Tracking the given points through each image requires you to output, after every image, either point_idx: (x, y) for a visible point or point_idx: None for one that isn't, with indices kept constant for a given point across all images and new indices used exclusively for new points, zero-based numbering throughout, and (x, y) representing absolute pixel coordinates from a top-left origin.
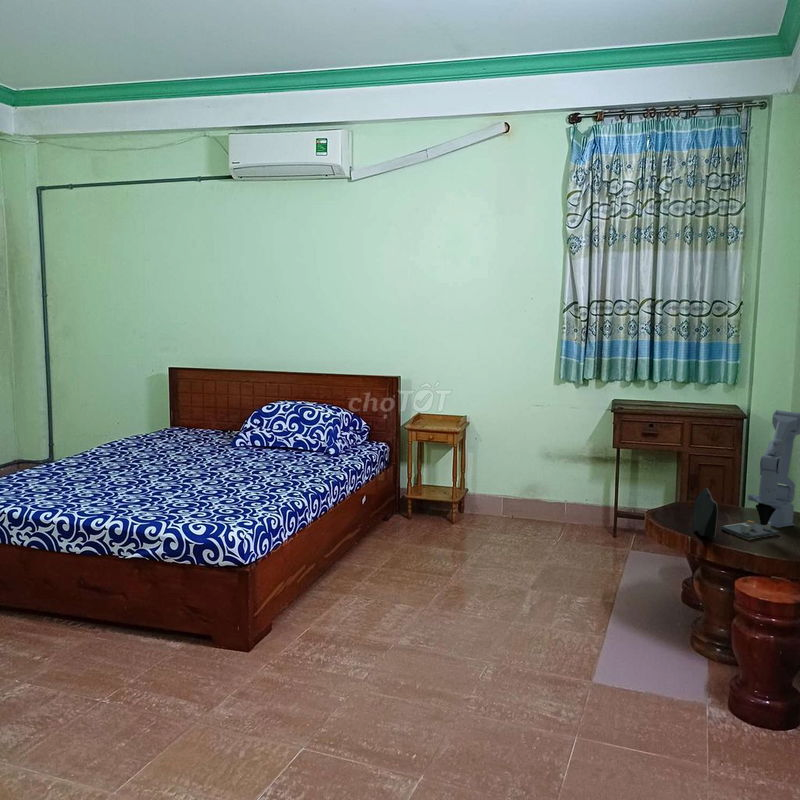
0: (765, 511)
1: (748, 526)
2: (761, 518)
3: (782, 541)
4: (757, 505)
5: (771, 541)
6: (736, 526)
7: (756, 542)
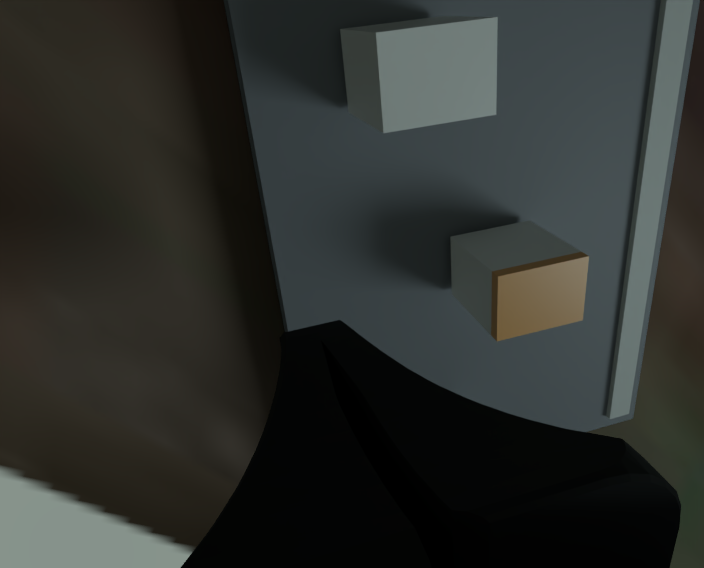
0: (232, 524)
1: (375, 83)
2: (343, 368)
3: (125, 416)
4: (612, 517)
5: (138, 293)
6: (611, 144)
7: (116, 45)
